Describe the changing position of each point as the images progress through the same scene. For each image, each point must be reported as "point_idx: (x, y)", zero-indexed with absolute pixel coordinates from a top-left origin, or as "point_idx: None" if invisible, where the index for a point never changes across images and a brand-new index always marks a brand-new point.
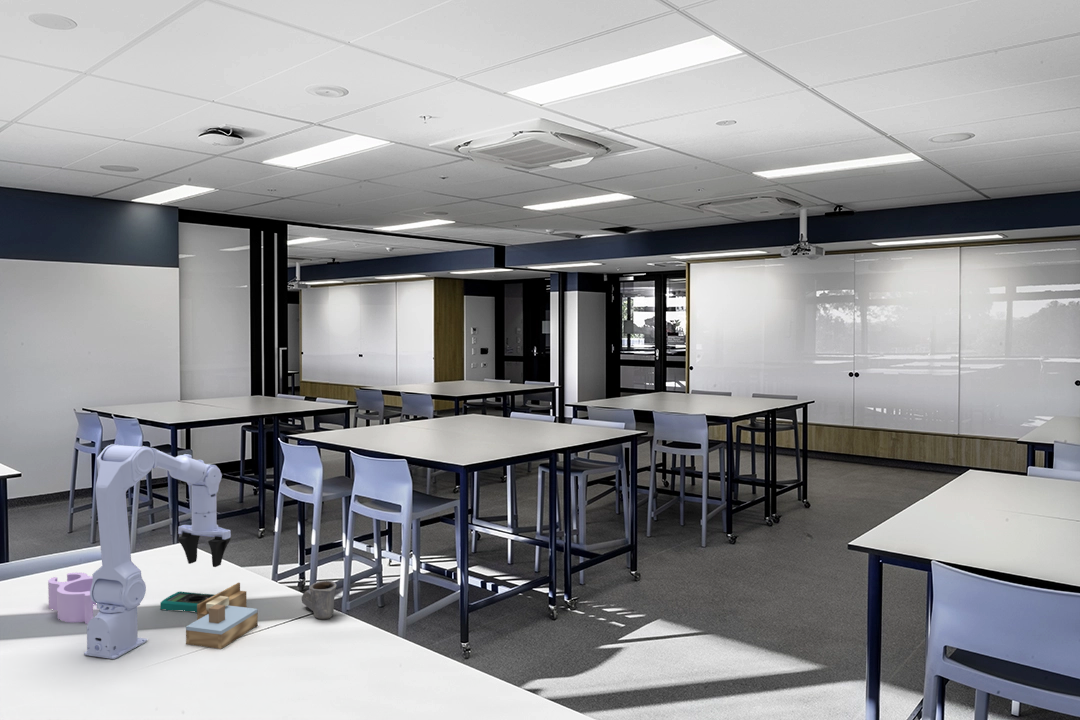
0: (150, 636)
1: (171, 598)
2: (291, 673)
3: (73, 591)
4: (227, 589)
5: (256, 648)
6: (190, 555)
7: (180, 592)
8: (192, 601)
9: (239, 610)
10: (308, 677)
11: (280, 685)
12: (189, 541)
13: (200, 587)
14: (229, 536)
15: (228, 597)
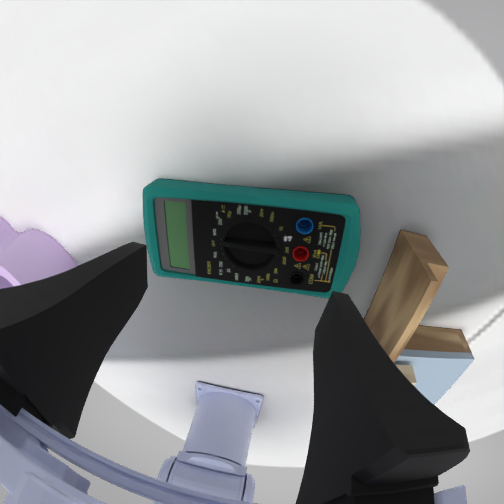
0: (253, 380)
1: (160, 240)
2: (482, 414)
3: (3, 284)
4: (403, 343)
5: (454, 390)
6: (121, 315)
7: (154, 198)
8: (252, 271)
9: (437, 373)
10: (493, 413)
11: (468, 428)
12: (69, 393)
13: (154, 59)
14: (455, 501)
15: (415, 383)
